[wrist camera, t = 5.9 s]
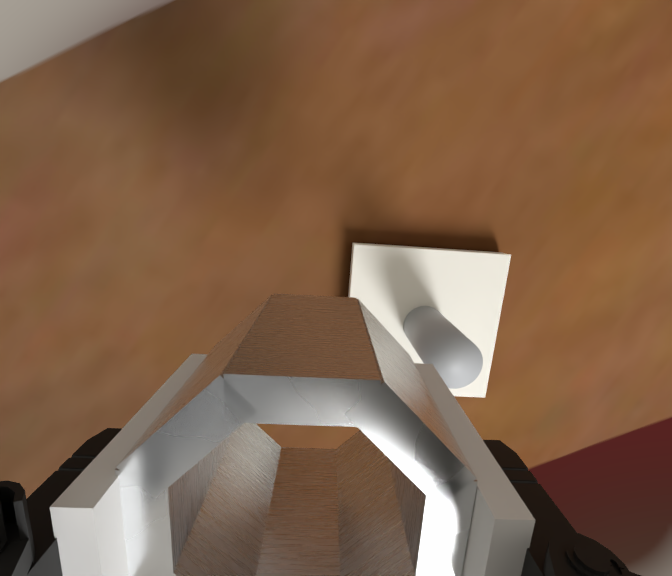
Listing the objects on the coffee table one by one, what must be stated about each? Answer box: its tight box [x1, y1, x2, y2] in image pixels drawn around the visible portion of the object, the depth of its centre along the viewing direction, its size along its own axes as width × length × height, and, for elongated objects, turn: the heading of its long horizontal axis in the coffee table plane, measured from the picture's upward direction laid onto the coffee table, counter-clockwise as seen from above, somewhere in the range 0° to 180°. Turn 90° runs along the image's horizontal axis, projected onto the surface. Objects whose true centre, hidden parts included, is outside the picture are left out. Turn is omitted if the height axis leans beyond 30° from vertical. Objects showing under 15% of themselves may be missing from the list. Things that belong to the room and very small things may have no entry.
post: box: [348, 242, 511, 397], centre depth 25 cm, size 12×12×8 cm
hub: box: [115, 294, 478, 576], centre depth 10 cm, size 7×7×6 cm
